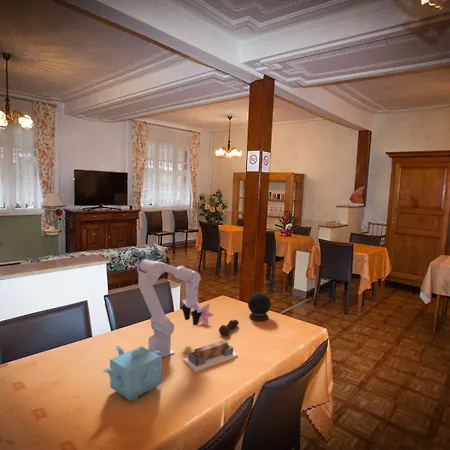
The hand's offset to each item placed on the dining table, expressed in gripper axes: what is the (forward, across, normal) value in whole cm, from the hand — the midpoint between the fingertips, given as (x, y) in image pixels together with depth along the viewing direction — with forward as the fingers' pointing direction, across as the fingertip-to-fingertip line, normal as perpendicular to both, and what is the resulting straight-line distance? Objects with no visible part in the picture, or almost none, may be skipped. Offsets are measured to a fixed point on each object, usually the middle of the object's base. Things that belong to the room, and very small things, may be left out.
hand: (191, 322), depth 167 cm
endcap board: (+9, -20, +2) cm, 22 cm away
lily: (+10, +16, -17) cm, 25 cm away
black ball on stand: (+10, +3, -48) cm, 49 cm away
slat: (+8, -20, +2) cm, 22 cm away
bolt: (+10, -1, -23) cm, 25 cm away
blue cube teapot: (+10, -23, +39) cm, 46 cm away
